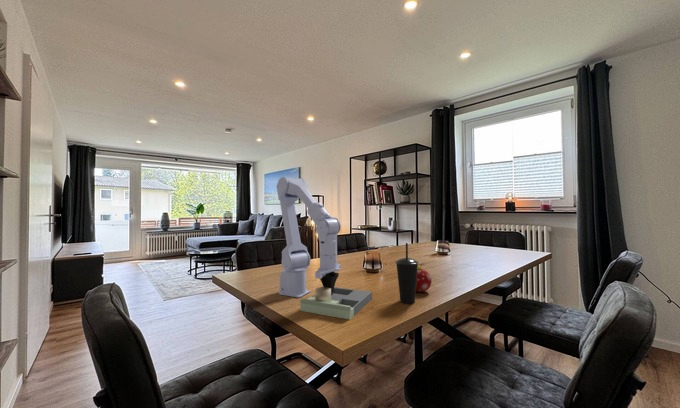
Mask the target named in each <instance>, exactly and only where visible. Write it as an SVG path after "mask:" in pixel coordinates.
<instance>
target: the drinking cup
mask: <svg viewBox="0 0 680 408" xmlns="http://www.w3.org/2000/svg"><path fill="white" fill-rule="evenodd" d="M408 251H409V243H408V242H405V257H402V258H399V259H397V260H396V261H395V264H396V271H397V272H396V273H397V281H398V290H399V291H398V293H399V300H400V303H402V304H408V305H412V304H415V303H416V292H417V291H416V280H417V269H418V267H419V266H418V265H419V261H417V260H416V259H414V258H411V257H409V252H408Z"/></svg>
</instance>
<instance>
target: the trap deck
mask: <svg viewBox="0 0 680 408" xmlns="http://www.w3.org/2000/svg"><path fill="white" fill-rule="evenodd" d="M372 299H373V291H371V290H370V291H368V290H362V289H355V288H354V289H353V288H346V287H336V286H334V290H333V295H332V296H331V303H329V302H322V301H316V299H315V294H314V295H312V296H310V297H309V298H300V301H299V302H300V303H299V304H300V309H299V311H301V312H306V313H310V314H311V313H312V314H317V315H323V316H327V317H332V318H333V317H334V318H340V319H345V320H351V319H352V318H354V317H355V316H356V315H357V314H358V313H359V312H360V311H361V310H362V309H363V308H364V307H365V306H367V304H368V303H369V302H370V301H371V300H372Z"/></svg>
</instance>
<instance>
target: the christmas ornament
mask: <svg viewBox="0 0 680 408" xmlns="http://www.w3.org/2000/svg"><path fill="white" fill-rule="evenodd" d="M431 286H432V277H431V275H430V273H429V272H428V271H426V270H425V269H422V266H421V265H419V264H418V267H417V280H416V292H417V293H424V292H426V291H428V290H429V289H430V288H431Z"/></svg>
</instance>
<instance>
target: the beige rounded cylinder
mask: <svg viewBox="0 0 680 408" xmlns="http://www.w3.org/2000/svg"><path fill="white" fill-rule="evenodd" d="M314 290H315V293H314V295H315V299H316V301H322V302H329V303H331V288H329V287H323V286H319V287H316V288H315V289H314Z"/></svg>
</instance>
